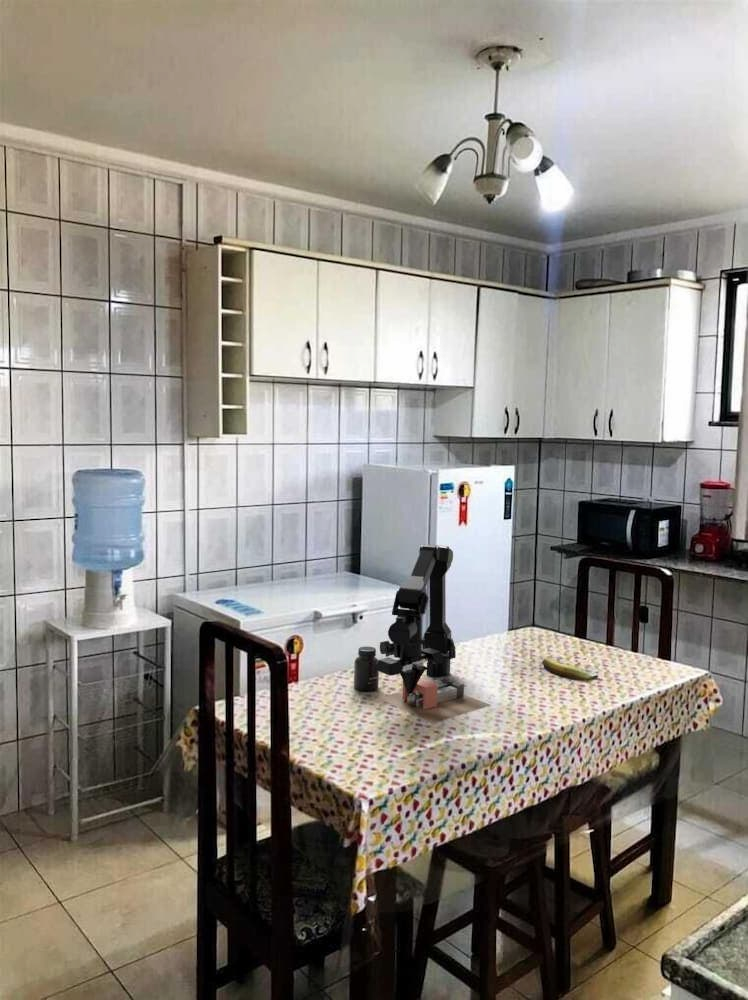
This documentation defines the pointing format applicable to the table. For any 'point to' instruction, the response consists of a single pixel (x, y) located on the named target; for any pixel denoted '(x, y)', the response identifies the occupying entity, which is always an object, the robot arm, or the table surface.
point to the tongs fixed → (414, 696)
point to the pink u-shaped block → (424, 693)
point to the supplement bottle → (366, 670)
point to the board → (436, 707)
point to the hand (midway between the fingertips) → (409, 693)
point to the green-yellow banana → (566, 670)
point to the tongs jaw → (446, 693)
